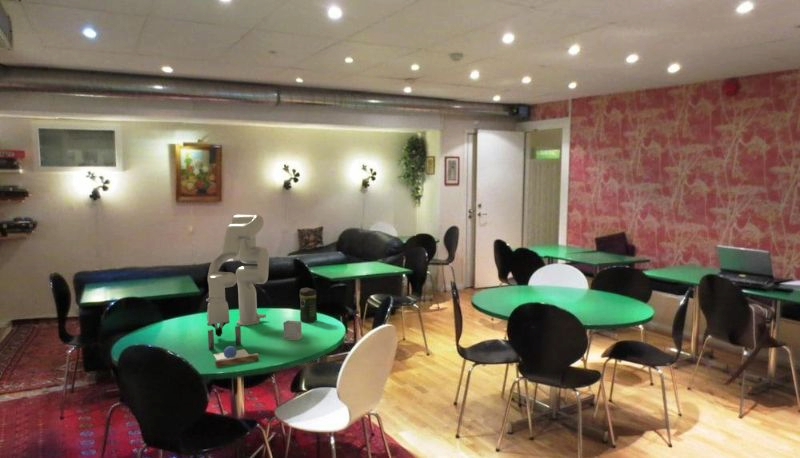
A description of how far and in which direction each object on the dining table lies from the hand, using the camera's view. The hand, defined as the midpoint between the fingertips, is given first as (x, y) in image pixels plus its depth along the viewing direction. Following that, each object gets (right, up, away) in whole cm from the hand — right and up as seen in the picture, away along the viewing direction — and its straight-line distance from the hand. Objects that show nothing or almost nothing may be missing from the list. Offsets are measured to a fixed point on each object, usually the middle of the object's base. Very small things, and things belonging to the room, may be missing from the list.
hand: (218, 335), depth 273 cm
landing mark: (+15, -4, -27) cm, 31 cm away
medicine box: (+37, -2, -1) cm, 37 cm away
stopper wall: (+20, -5, -36) cm, 41 cm away
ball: (+15, -2, -30) cm, 33 cm away
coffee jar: (+40, +2, +32) cm, 51 cm away
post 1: (+2, -3, -16) cm, 16 cm away
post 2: (+13, -2, -10) cm, 16 cm away
